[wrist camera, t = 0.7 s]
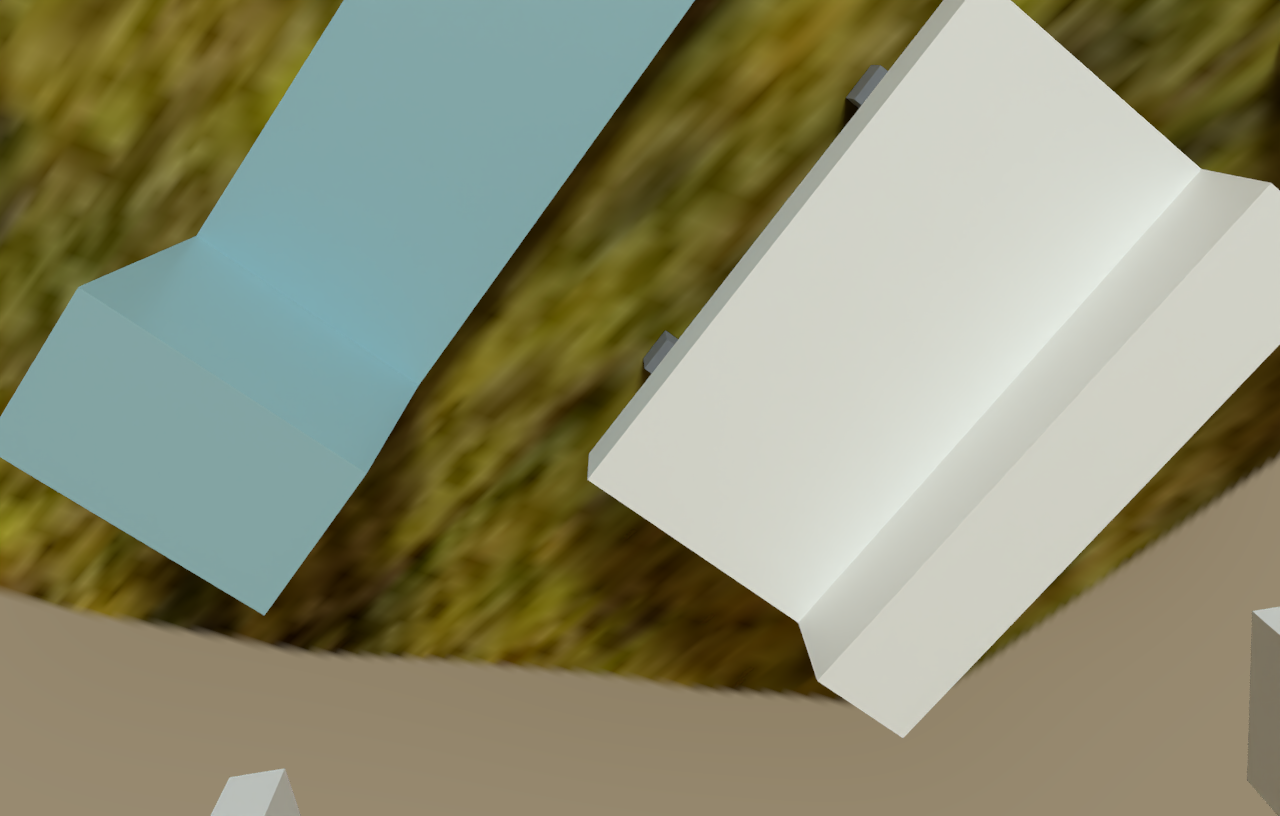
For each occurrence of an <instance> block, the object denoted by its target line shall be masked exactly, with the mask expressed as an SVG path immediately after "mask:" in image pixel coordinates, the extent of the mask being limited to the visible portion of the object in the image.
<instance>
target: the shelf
mask: <svg viewBox="0 0 1280 816" xmlns="http://www.w3.org/2000/svg"><path fill="white" fill-rule="evenodd" d="M846 98H847V99H848V100H849V101H851V102H852V103H853V104H854V105H855V106H857V107H858V108H859V109H858V110H857V112H856V113H855V114H854V116H853V117H852V118H851V119H850V121H849V122H848V123H847V125H846V126H845V127H844V128H843V130H842V131H841V132H840V133H839V135H838V136H837V137H836V139H835V140H834V141H833V142H832V144H831V145H830V146H829V148H828V149H827V150H826V151H825V153H824V154H823V155H822V157H821V158H820V159H819V160H818V162H817V163H816V164H815V165H814V167H813V168H812V169H811V171H810V172H809V173H808V174H807V176H806V177H805V178H804V180H803V181H802V182H801V183H800V185H799V186H798V187H797V188H796V190H795V191H794V192H793V194H792V195H791V196H790V197H789V199H788V200H787V201H786V203H785V204H784V205H783V206H782V208H781V209H780V210H779V211H778V213H777V214H776V215H775V217H774V218H773V219H772V220H771V222H770V223H769V224H768V226H767V227H766V228H765V229H764V231H763V232H762V233H761V234H760V236H759V237H758V238H757V240H756V241H755V242H754V243H753V245H752V246H751V247H750V249H749V250H748V251H747V252H746V254H745V255H744V256H743V258H742V259H741V260H740V261H739V263H738V264H737V265H736V266H735V268H734V269H733V270H732V272H731V273H730V274H729V275H728V277H727V278H726V279H725V281H724V282H723V283H722V284H721V286H720V287H719V288H718V289H717V291H716V292H715V293H714V295H713V296H712V297H711V298H710V300H709V301H708V302H707V304H706V305H705V306H704V307H703V309H702V310H701V311H700V312H699V314H698V315H697V316H696V318H695V319H694V320H693V321H692V323H691V324H690V325H689V327H688V328H687V329H686V330H685V332H684V333H683V334H682V336H681V337H680V338H679V339H677V338H675V337H674V336H672V335H671V334H670V333H668V332H667V331H666V330H665V331H664V333H663V334H662V335H661V337H660V338H659V339H658V340H657V342H656V343H655V344H654V346H653V347H652V348H651V349H650V351H649V352H648V353H647V355H646V356H645V357H644V358H643V359H644V369H646V370H647V371H648V372H650V373H651V375H650V376H649V378H648V379H647V380H646V382H645V383H644V384H643V385H642V387H641V388H640V389H639V390H638V392H637V393H636V394H635V396H634V397H633V398H632V399H631V401H630V402H629V403H628V405H627V406H626V407H625V408H624V410H623V411H622V412H621V413H620V415H619V416H618V417H617V419H616V420H615V421H614V422H613V424H612V425H611V426H610V428H609V429H608V430H607V431H606V433H605V434H604V435H603V437H602V438H601V439H600V440H599V442H598V443H597V444H596V445H595V447H594V448H593V449H592V451H591V452H590V453H589V463H588V480H589V481H590V482H592V483H593V484H595V485H596V486H598V487H599V488H601V489H602V490H603V491H605V492H606V493H608V494H609V495H611V496H612V497H614V498H615V499H617V500H618V501H620V502H621V503H623V504H624V505H626V506H627V507H628V508H630V509H631V510H633V511H634V512H636V513H637V514H639V515H640V516H642V517H643V518H645V519H646V520H648V521H649V522H651V523H652V524H654V525H655V526H656V527H658V528H659V529H661V530H662V531H664V532H665V533H667V534H668V535H670V536H671V537H673V538H674V539H676V540H677V541H679V542H680V543H681V544H683V545H684V546H686V547H687V548H689V549H690V550H692V551H693V552H695V553H696V554H698V555H699V556H701V557H702V558H704V559H705V560H707V561H708V562H709V563H711V564H712V565H714V566H715V567H717V568H718V569H720V570H721V571H723V572H724V573H726V574H727V575H729V576H730V577H732V578H733V579H734V580H736V581H737V582H739V583H740V584H742V585H743V586H745V587H746V588H748V589H749V590H751V591H752V592H754V593H755V594H757V595H758V596H760V597H761V598H762V599H764V600H765V601H767V602H768V603H770V604H771V605H773V606H774V607H776V608H777V609H779V610H780V611H782V612H783V613H785V614H786V615H787V616H789V617H790V618H792V619H793V620H795V621H796V622H798V624H799V627H800V630H801V633H802V636H803V639H804V642H805V645H806V648H807V651H808V654H809V657H810V660H811V663H812V666H813V670H814V673H815V676H816V679H817V681H818V682H820V683H821V684H823V685H824V686H826V687H827V688H829V689H830V690H832V691H833V692H835V693H836V694H838V695H839V696H841V697H842V698H844V699H845V700H847V701H848V702H850V703H851V704H853V705H854V706H856V707H857V708H859V709H860V710H862V711H863V712H864V713H866V714H867V715H869V716H870V717H872V718H874V719H875V720H877V721H878V722H880V723H881V724H882V725H884V726H885V727H887V728H888V729H890V730H892V731H893V732H895V733H896V734H898V735H899V736H900V737H902V738H904V737H905V736H906V735H907V734H908V733H909V731H910V730H911V729H912V728H913V727H914V726H915V725H916V724H917V723H918V722H919V721H920V720H921V719H922V718H923V717H924V716H925V715H926V714H927V713H928V712H929V711H930V710H931V708H932V707H933V706H934V705H935V704H936V703H937V702H938V701H939V700H940V699H941V698H942V697H943V696H944V695H945V694H946V693H947V692H948V691H949V690H950V689H951V688H952V687H953V685H954V684H955V683H956V682H957V681H958V680H959V679H960V678H961V677H962V676H963V675H964V674H965V673H966V672H967V671H968V670H969V669H970V668H971V667H972V666H973V665H974V664H975V662H976V661H977V660H978V659H979V658H980V657H981V656H982V655H983V654H984V653H985V652H986V651H987V650H988V649H989V648H990V647H991V646H992V645H993V644H994V643H995V642H996V641H997V639H998V638H999V637H1000V636H1001V635H1002V634H1003V633H1004V632H1005V631H1006V630H1007V629H1008V628H1009V627H1010V626H1011V625H1012V624H1013V623H1014V622H1015V621H1016V620H1017V619H1018V618H1019V616H1020V615H1021V614H1022V613H1023V612H1024V611H1025V610H1026V609H1027V608H1028V607H1029V606H1030V605H1031V604H1032V603H1033V602H1034V601H1035V600H1036V599H1037V598H1038V597H1039V596H1040V595H1041V593H1042V592H1043V591H1044V590H1045V589H1046V588H1047V587H1048V586H1049V585H1050V584H1051V583H1052V582H1053V581H1054V580H1055V579H1056V578H1057V577H1058V576H1059V575H1060V574H1061V573H1062V572H1063V570H1064V569H1065V568H1066V567H1067V566H1068V565H1069V564H1070V563H1071V562H1072V561H1073V560H1074V559H1075V558H1076V557H1077V556H1078V555H1079V554H1080V553H1081V552H1082V551H1083V550H1084V549H1085V547H1086V546H1087V545H1088V544H1089V543H1090V542H1091V541H1092V540H1093V539H1094V538H1095V537H1096V536H1097V535H1098V534H1099V533H1100V532H1101V531H1102V530H1103V529H1104V528H1105V527H1106V526H1107V524H1108V523H1109V522H1110V521H1111V520H1112V519H1113V518H1114V517H1115V516H1116V515H1117V514H1118V513H1119V512H1120V511H1121V510H1122V509H1123V508H1124V507H1125V506H1126V505H1127V504H1128V503H1129V501H1130V500H1131V499H1132V498H1133V497H1134V496H1135V495H1136V494H1137V493H1138V492H1139V491H1140V490H1141V489H1142V488H1143V487H1144V486H1145V485H1146V484H1147V483H1148V482H1149V481H1150V480H1151V478H1152V477H1153V476H1154V475H1155V474H1156V473H1157V472H1158V471H1159V470H1160V469H1161V468H1162V467H1163V466H1164V465H1165V464H1166V463H1167V462H1168V461H1169V460H1170V459H1171V458H1172V457H1173V455H1174V454H1175V453H1176V452H1177V451H1178V450H1179V449H1180V448H1181V447H1182V446H1183V445H1184V444H1185V443H1186V442H1187V441H1188V440H1189V439H1190V438H1191V437H1192V436H1193V435H1194V434H1195V432H1196V431H1197V430H1198V429H1199V428H1200V427H1201V426H1202V425H1203V424H1204V423H1205V422H1206V421H1207V420H1208V419H1209V418H1210V417H1211V416H1212V415H1213V414H1214V413H1215V412H1216V411H1217V409H1218V408H1219V407H1220V406H1221V405H1222V404H1223V403H1224V402H1225V401H1226V400H1227V399H1228V398H1229V397H1230V396H1231V395H1232V394H1233V393H1234V392H1235V391H1236V390H1237V389H1238V388H1239V386H1240V385H1241V384H1242V383H1243V382H1244V381H1245V380H1246V379H1247V378H1248V377H1249V376H1250V375H1251V374H1252V373H1253V372H1254V371H1255V370H1256V369H1257V368H1258V367H1259V366H1260V365H1261V363H1262V362H1263V361H1264V360H1265V359H1266V358H1267V357H1268V356H1269V355H1270V354H1271V353H1272V352H1273V351H1274V350H1275V349H1276V348H1277V347H1278V346H1279V345H1280V190H1279V189H1278V188H1276V187H1275V186H1274V185H1273V184H1272V183H1270V182H1264V181H1259V180H1254V179H1249V178H1244V177H1239V176H1233V175H1228V174H1223V173H1218V172H1213V171H1208V170H1202V169H1200V168H1199V167H1198V166H1197V165H1196V164H1195V163H1194V162H1193V161H1191V160H1190V159H1189V158H1188V157H1187V156H1186V155H1185V154H1184V153H1182V152H1181V151H1180V150H1179V149H1178V148H1177V147H1176V146H1175V145H1173V144H1172V143H1171V142H1170V141H1169V140H1168V139H1167V138H1165V137H1164V136H1163V135H1162V134H1161V133H1160V132H1159V131H1158V130H1156V129H1155V128H1154V127H1153V126H1152V125H1151V124H1150V123H1149V122H1147V121H1146V120H1145V119H1144V118H1143V117H1142V116H1141V115H1140V114H1138V113H1137V112H1136V111H1135V110H1134V109H1133V108H1132V107H1130V106H1129V105H1128V104H1127V103H1126V102H1125V101H1124V100H1123V99H1121V98H1120V97H1119V96H1118V95H1117V94H1116V93H1115V92H1114V91H1112V90H1111V89H1110V88H1109V87H1108V86H1107V85H1106V84H1105V83H1103V82H1102V81H1101V80H1100V79H1099V78H1098V77H1097V76H1095V75H1094V74H1093V73H1092V72H1091V71H1090V70H1089V69H1088V68H1086V67H1085V66H1084V65H1083V64H1082V63H1081V62H1080V61H1079V60H1077V59H1076V58H1075V57H1074V56H1073V55H1072V54H1071V53H1070V52H1068V51H1067V50H1066V49H1065V48H1064V47H1063V46H1062V45H1060V44H1059V43H1058V42H1057V41H1056V40H1055V39H1054V38H1053V37H1051V36H1050V35H1049V34H1048V33H1047V32H1046V31H1045V30H1044V29H1042V28H1041V27H1040V26H1039V25H1038V24H1037V23H1036V22H1035V21H1033V20H1032V19H1031V18H1030V17H1029V16H1028V15H1027V14H1025V13H1024V12H1023V11H1022V10H1021V9H1020V8H1019V7H1018V6H1016V5H1015V4H1014V3H1013V2H1012V1H1011V0H944V1H943V2H942V3H941V4H940V6H939V7H938V8H937V9H936V11H935V12H934V13H933V15H932V16H931V17H930V18H929V20H928V21H927V22H926V24H925V25H924V26H923V27H922V29H921V30H920V31H919V32H918V34H917V35H916V36H915V38H914V39H913V40H912V41H911V43H910V44H909V45H908V47H907V48H906V49H905V50H904V52H903V53H902V54H901V56H900V57H899V58H898V59H897V61H896V62H895V63H894V64H893V66H892V67H891V68H890V70H889V71H887V70H886V69H884V68H883V67H882V66H881V65H871V66H870V67H869V69H868V70H867V71H866V73H865V74H864V75H863V76H862V78H861V79H860V80H859V82H858V83H857V84H856V85H855V87H854V88H853V89H852V91H851V92H850V93H849V94H848V96H847V97H846Z"/></svg>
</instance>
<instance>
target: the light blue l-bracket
mask: <svg viewBox="0 0 1280 816" xmlns="http://www.w3.org/2000/svg"><path fill="white" fill-rule="evenodd" d="M694 1H695V0H344V1H343V2H342V4H341V5H340V7H339V9H338V10H337V12H336V13H335V15H334V17H333V18H332V20H331V21H330V23H329V25H328V26H327V28H326V29H325V31H324V33H323V34H322V36H321V37H320V39H319V41H318V42H317V44H316V45H315V47H314V49H313V50H312V52H311V53H310V55H309V57H308V58H307V60H306V61H305V63H304V65H303V66H302V68H301V69H300V71H299V73H298V74H297V76H296V77H295V79H294V81H293V82H292V84H291V85H290V87H289V89H288V90H287V92H286V93H285V95H284V97H283V98H282V100H281V101H280V103H279V105H278V106H277V108H276V109H275V111H274V113H273V114H272V116H271V117H270V119H269V121H268V122H267V124H266V125H265V127H264V129H263V130H262V132H261V133H260V135H259V137H258V138H257V140H256V141H255V143H254V145H253V146H252V148H251V149H250V151H249V153H248V154H247V156H246V157H245V159H244V161H243V162H242V164H241V165H240V167H239V169H238V170H237V172H236V173H235V175H234V177H233V178H232V180H231V181H230V183H229V185H228V186H227V188H226V189H225V191H224V193H223V194H222V196H221V197H220V199H219V201H218V202H217V204H216V205H215V207H214V209H213V210H212V212H211V213H210V215H209V217H208V218H207V220H206V221H205V223H204V225H203V226H202V228H201V229H200V231H199V233H198V234H197V236H195V237H193V238H191V239H188V240H186V241H184V242H181V243H179V244H177V245H174V246H172V247H170V248H168V249H165V250H163V251H161V252H158V253H156V254H154V255H151V256H149V257H147V258H144V259H142V260H140V261H137V262H135V263H133V264H131V265H128V266H126V267H124V268H121V269H119V270H117V271H114V272H112V273H110V274H107V275H105V276H103V277H100V278H98V279H96V280H94V281H91V282H89V283H87V284H84V285H82V286H80V287H78V289H77V290H76V292H75V294H74V295H73V297H72V299H71V300H70V302H69V304H68V305H67V307H66V309H65V310H64V312H63V314H62V315H61V317H60V319H59V320H58V322H57V324H56V325H55V327H54V329H53V330H52V332H51V334H50V335H49V337H48V339H47V340H46V342H45V344H44V345H43V347H42V349H41V350H40V352H39V354H38V355H37V357H36V359H35V360H34V362H33V363H32V365H31V367H30V368H29V370H28V372H27V373H26V375H25V377H24V378H23V380H22V382H21V383H20V385H19V387H18V388H17V390H16V392H15V393H14V395H13V397H12V398H11V400H10V402H9V403H8V405H7V407H6V408H5V410H4V412H3V413H2V415H1V417H0V457H1V458H2V459H4V460H6V461H7V462H9V463H11V464H12V465H14V466H16V467H17V468H19V469H21V470H22V471H24V472H26V473H27V474H29V475H31V476H32V477H34V478H36V479H37V480H39V481H41V482H42V483H44V484H46V485H47V486H49V487H51V488H52V489H54V490H56V491H57V492H59V493H61V494H62V495H64V496H66V497H67V498H69V499H71V500H72V501H74V502H76V503H77V504H79V505H81V506H82V507H84V508H86V509H87V510H89V511H91V512H92V513H94V514H96V515H97V516H99V517H101V518H102V519H104V520H106V521H107V522H109V523H111V524H112V525H114V526H116V527H117V528H119V529H121V530H122V531H124V532H126V533H127V534H129V535H131V536H132V537H134V538H136V539H137V540H139V541H141V542H142V543H144V544H146V545H147V546H149V547H151V548H152V549H154V550H156V551H157V552H159V553H161V554H162V555H164V556H166V557H167V558H169V559H171V560H172V561H174V562H176V563H177V564H179V565H181V566H182V567H184V568H186V569H187V570H189V571H191V572H192V573H194V574H196V575H197V576H199V577H201V578H202V579H204V580H206V581H207V582H209V583H211V584H212V585H214V586H216V587H217V588H219V589H221V590H222V591H224V592H226V593H227V594H229V595H231V596H232V597H234V598H236V599H237V600H239V601H241V602H242V603H244V604H246V605H247V606H249V607H251V608H252V609H254V610H256V611H257V612H259V613H261V614H262V615H265V614H266V613H267V611H268V610H269V609H270V607H271V606H272V604H273V603H274V602H275V600H276V599H277V597H278V596H279V595H280V593H281V592H282V590H283V589H284V588H285V586H286V585H287V584H288V582H289V581H290V579H291V578H292V577H293V575H294V574H295V572H296V571H297V570H298V568H299V567H300V565H301V564H302V563H303V561H304V560H305V559H306V557H307V556H308V554H309V553H310V552H311V550H312V549H313V547H314V546H315V545H316V543H317V542H318V540H319V539H320V538H321V536H322V535H323V534H324V532H325V531H326V529H327V528H328V527H329V525H330V524H331V522H332V521H333V520H334V518H335V517H336V515H337V514H338V513H339V511H340V510H341V509H342V507H343V506H344V504H345V503H346V502H347V500H348V499H349V497H350V496H351V495H352V493H353V492H354V491H355V489H356V488H357V486H358V485H359V484H360V482H361V481H362V479H363V478H364V477H365V475H366V474H367V472H368V471H369V469H370V467H371V465H372V464H373V462H374V460H375V459H376V457H377V455H378V454H379V452H380V450H381V448H382V447H383V445H384V443H385V442H386V440H387V438H388V437H389V435H390V433H391V432H392V430H393V428H394V426H395V425H396V423H397V421H398V420H399V418H400V416H401V415H402V413H403V411H404V409H405V408H406V406H407V404H408V403H409V401H410V399H411V398H412V396H413V394H414V393H415V391H416V389H417V387H418V386H419V384H420V383H421V382H422V380H423V379H424V377H425V376H426V375H427V373H428V372H429V370H430V369H431V368H432V366H433V365H434V363H435V362H436V361H437V359H438V358H439V356H440V355H441V354H442V352H443V351H444V350H445V348H446V347H447V345H448V344H449V343H450V341H451V340H452V338H453V337H454V336H455V334H456V333H457V331H458V330H459V329H460V327H461V326H462V324H463V323H464V322H465V320H466V319H467V317H468V316H469V315H470V313H471V312H472V310H473V309H474V308H475V306H476V305H477V303H478V302H479V301H480V299H481V298H482V296H483V295H484V294H485V292H486V291H487V290H488V288H489V287H490V285H491V284H492V283H493V281H494V280H495V278H496V277H497V276H498V274H499V273H500V271H501V270H502V269H503V267H504V266H505V264H506V263H507V262H508V260H509V259H510V257H511V256H512V255H513V253H514V252H515V250H516V249H517V248H518V246H519V245H520V243H521V242H522V241H523V239H524V238H525V237H526V235H527V234H528V232H529V231H530V230H531V228H532V227H533V225H534V224H535V223H536V221H537V220H538V218H539V217H540V216H541V214H542V213H543V211H544V210H545V209H546V207H547V206H548V204H549V203H550V202H551V200H552V199H553V197H554V196H555V195H556V193H557V192H558V190H559V189H560V188H561V186H562V185H563V184H564V182H565V181H566V179H567V178H568V177H569V175H570V174H571V172H572V171H573V170H574V168H575V167H576V165H577V164H578V163H579V161H580V160H581V158H582V157H583V156H584V154H585V153H586V151H587V150H588V149H589V147H590V146H591V144H592V143H593V142H594V140H595V139H596V137H597V136H598V135H599V133H600V132H601V131H602V129H603V128H604V126H605V125H606V124H607V122H608V121H609V119H610V118H611V117H612V115H613V114H614V112H615V111H616V110H617V108H618V107H619V105H620V104H621V103H622V101H623V100H624V98H625V97H626V96H627V94H628V93H629V91H630V90H631V89H632V87H633V86H634V84H635V83H636V82H637V80H638V79H639V78H640V76H641V75H642V73H643V72H644V71H645V69H646V68H647V66H648V65H649V64H650V62H651V61H652V59H653V58H654V57H655V55H656V54H657V52H658V51H659V50H660V48H661V47H662V45H663V44H664V43H665V41H666V40H667V38H668V37H669V36H670V34H671V33H672V31H673V30H674V29H675V27H676V26H677V24H678V23H679V22H680V20H681V19H682V18H683V16H684V15H685V13H686V12H687V11H688V9H689V8H690V6H691V5H692V4H693V2H694Z"/></svg>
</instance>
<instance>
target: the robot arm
mask: <svg viewBox="0 0 1280 816" xmlns="http://www.w3.org/2000/svg"><path fill="white" fill-rule="evenodd" d="M1251 637H1252V639H1251V670H1250V701H1249V735H1248V767H1247V781H1248V782H1249V783H1250V784H1251V785H1252V786H1253V787H1254V789H1255V790H1256V791H1257V792H1258V793H1259V794H1260V796H1261V797H1262V798H1263V799H1264V800H1265V801H1266V802H1267V804H1268V805H1269V806H1270V807H1271V808H1272V809H1273V810H1274V812H1275V813H1276V814H1277V815H1278V816H1280V607H1275V608H1269V609H1263V610H1256V611H1252V636H1251ZM211 816H301V815H300V812H299V809H298V806H297V803H296V800H295V797H294V794H293V791H292V788H291V785H290V782H289V779H288V776H287V773H286V770H285V769H278V770H272V771H266V772H260V773H254V774H248V775H241V776H236V777H230V778H229V780H228V782H227V784H226V786H225V788H224V790H223V792H222V794H221V796H220V798H219V800H218V802H217V804H216V806H215V808H214V810H213V812H212V814H211Z"/></svg>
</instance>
